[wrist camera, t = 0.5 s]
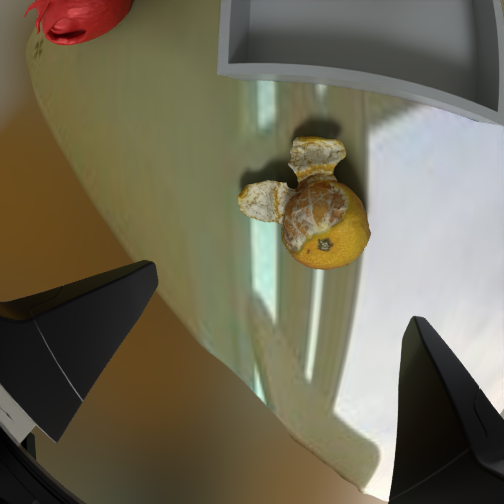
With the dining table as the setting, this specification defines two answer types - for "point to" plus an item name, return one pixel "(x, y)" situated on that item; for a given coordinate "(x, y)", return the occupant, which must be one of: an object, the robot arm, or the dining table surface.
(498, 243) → the dining table surface
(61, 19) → the pomegranate
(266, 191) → the fruit
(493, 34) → the serving bin
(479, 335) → the dining table surface
